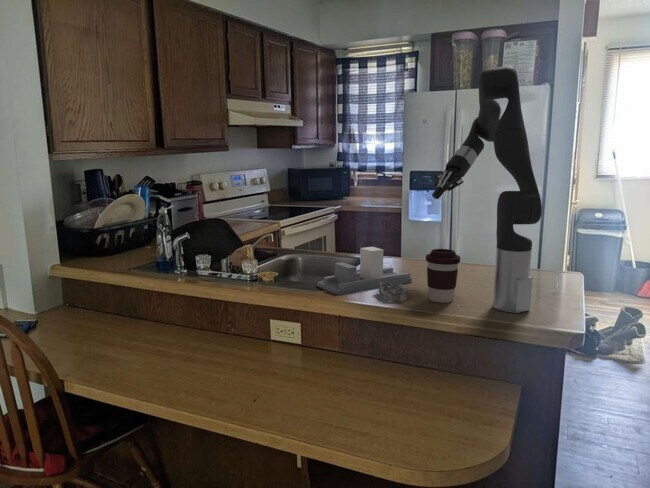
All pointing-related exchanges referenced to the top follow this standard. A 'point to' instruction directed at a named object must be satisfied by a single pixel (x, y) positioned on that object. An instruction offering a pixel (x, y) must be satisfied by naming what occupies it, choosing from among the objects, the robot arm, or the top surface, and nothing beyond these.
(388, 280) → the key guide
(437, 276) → the coffee cup
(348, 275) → the grey rectangular block
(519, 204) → the robot arm
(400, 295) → the egg carton
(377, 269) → the block
